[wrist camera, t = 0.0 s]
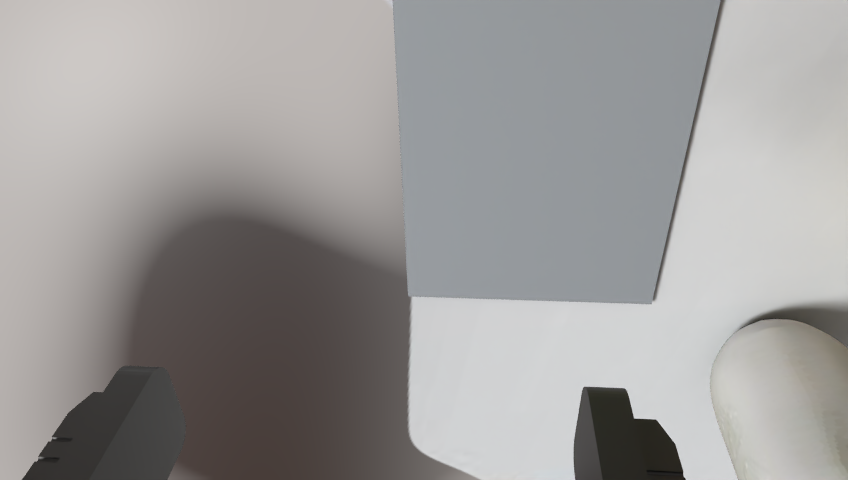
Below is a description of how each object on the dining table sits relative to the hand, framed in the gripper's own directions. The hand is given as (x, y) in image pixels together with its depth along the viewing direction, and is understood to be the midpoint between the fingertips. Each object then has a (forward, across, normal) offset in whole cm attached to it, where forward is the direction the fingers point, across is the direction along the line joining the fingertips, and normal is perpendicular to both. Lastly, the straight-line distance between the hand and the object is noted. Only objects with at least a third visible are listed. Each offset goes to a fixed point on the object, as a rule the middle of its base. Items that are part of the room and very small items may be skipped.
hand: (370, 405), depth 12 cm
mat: (+29, -6, +8) cm, 31 cm away
